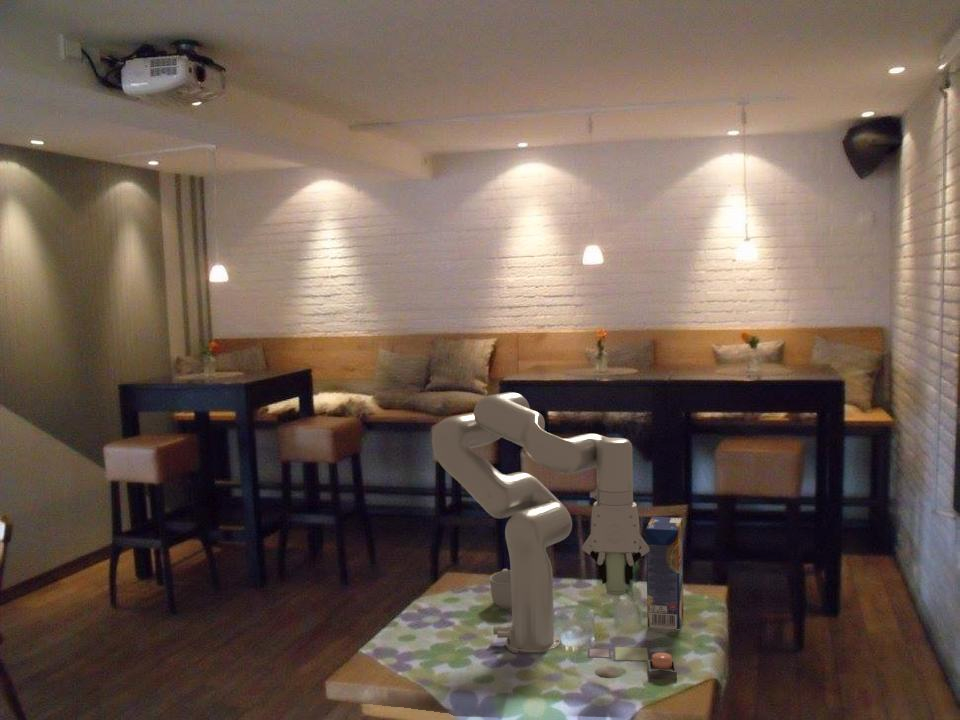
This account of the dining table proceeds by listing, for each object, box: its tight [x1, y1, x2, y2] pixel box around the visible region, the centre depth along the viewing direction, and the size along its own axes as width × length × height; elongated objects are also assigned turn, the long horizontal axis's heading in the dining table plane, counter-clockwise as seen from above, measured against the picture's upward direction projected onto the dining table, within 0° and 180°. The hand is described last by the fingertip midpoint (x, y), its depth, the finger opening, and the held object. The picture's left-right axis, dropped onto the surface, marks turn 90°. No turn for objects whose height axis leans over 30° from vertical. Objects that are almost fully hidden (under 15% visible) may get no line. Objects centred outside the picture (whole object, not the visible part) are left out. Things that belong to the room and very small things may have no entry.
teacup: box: [489, 568, 512, 610], centre depth 237 cm, size 14×11×8 cm
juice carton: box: [645, 516, 685, 630], centre depth 222 cm, size 12×8×24 cm, turn 163°
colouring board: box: [587, 646, 678, 681], centre depth 195 cm, size 20×20×3 cm
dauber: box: [604, 553, 628, 596], centre depth 193 cm, size 4×4×11 cm
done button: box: [651, 652, 673, 670], centre depth 189 cm, size 4×4×2 cm
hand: (616, 581), depth 193 cm, fingers closed on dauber, 4 cm apart
